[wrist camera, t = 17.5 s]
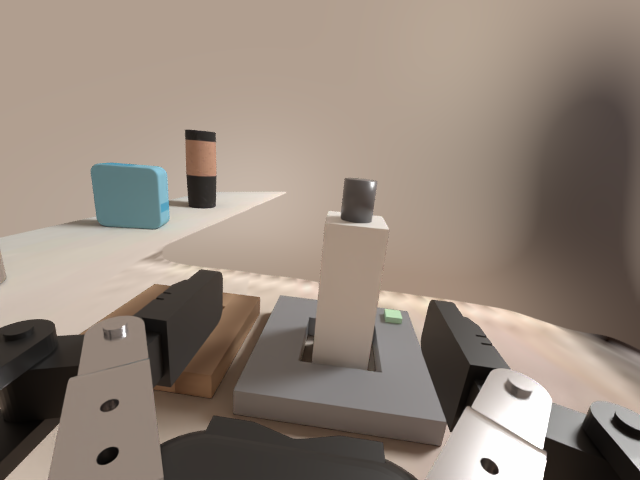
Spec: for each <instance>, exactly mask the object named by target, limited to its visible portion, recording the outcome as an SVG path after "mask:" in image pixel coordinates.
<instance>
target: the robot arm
mask: <svg viewBox="0 0 640 480" xmlns="http://www.w3.org/2000/svg"><path fill="white" fill-rule="evenodd" d="M5 279H6V273H5V269H4V265H3V260H2V256H1V251H0V284H1V283H2V282H3V281H4V280H5ZM222 310H223V277H222V273H221V272H218V271H210V270H202V269H201V270H199V271H198V272H197V273H195V274H194V275H193V276H192V277H191V278H189V279H188V280H183V281H181V282H178V283H176V284H173V285H172V286H170V287H169V288H168V289H166V290H165V291H164V292H163V293H161V294H160V295H159V296H157V297H156V299H154V300H152V301H151V302H150V303H148V304H147V305H146V306H144V307H143V308H142V309H141V310H139V311H138V312H137V313H135V314H134V315H133V316H117V317H112V318H109V319H105V320H103V321H100V322H98V323H96V324H94V325H93V326H91V327H90V328H89V329H88V330H87V331H86V333H85V334H83V335H67V336H57V334H56V329H55V324H54V323H53V322H51V321H49V320H44V319H34V320H26V321H21V322H17V323H13V324H10V325H7V326H4V327H2V328H0V480H4V479H5V478H6V477H7V476H8V475H9V474H10V473H11V472H12V471H13V470H14V469H15V468H16V467H17V466H18V465H19V464H20V463H21V462H22V461H23V460H24V459H25V458H26V457H27V456H28V455H29V454H30V453H31V451H32V450H33V449H34V448H35V447H36V446H37V445H38V444H39V443H40V442H41V441H42V440H43V439H44V438H45V437H46V436H47V435H48V434H49V433H50V432H51V431H52V430H53V429H54V428H55V427H56V426H57V425H58V424H59V428H58V433H57V438H56V443H55V448H54V452H53V457H52V462H51V467H50V472H49V477H48V480H418V479H417V478H415V477H414V476H413V475H412V474H410V473H409V472H407V471H406V470H405V469H403V468H402V467H400V466H398V465H396V464H394V463H393V462H391V461H389V460H386V459H385V455H384V447H383V442H377V441H371V440H365V439H358V438H352V437H346V436H330V437H319V438H307V439H293V438H290V437H288V436H285V435H283V434H281V433H278V432H276V431H274V430H272V429H269V428H267V427H265V426H262V425H260V424H258V423H255V422H251V421H245V420H239V419H232V418H226V417H220V416H213V418H212V420H211V421H210V423H209V425H208V427H207V429H206V430H204V431H197V432H192V433H188V434H184V435H181V436H178V437H176V438H173V439H171V440H168V441H166V442H164V443H162V444H160V443H159V434H158V426H157V418H156V410H155V402H154V394H153V388H154V387H155V386H156V385H158V386H164V387H172V385H173V384H174V383H175V381H176V380H177V379H178V377H179V376H180V375H181V373H182V372H183V371H184V369H185V368H186V367H187V365H188V364H189V363H190V361H191V360H192V358H193V357H194V356H195V354H196V353H197V352H198V350H199V349H200V348H201V346H202V345H203V344H204V342H205V341H206V340H207V338H208V337H209V336H210V334H211V333H212V332H213V330H214V329H215V327H216V326H217V325H218V323H219V321H220V319H221V315H222ZM421 351H422V355H423V357H424V360H425V363H426V366H427V369H428V371H429V374H430V377H431V380H432V383H433V385H434V388H435V391H436V394H437V397H438V399H439V402H440V405H441V408H442V411H443V413H444V416H445V419H446V422H447V425H448V427H449V430H450V432H452V433H451V435H450V436H449V438H448V440H447V442H446V443H445V445H444V447H443V449H442V450H441V452H440V454H439V456H438V457H437V459H436V461H435V463H434V464H433V466H432V468H431V470H430V471H429V473H428V475H427V477H426V479H425V480H640V415H639V414H637V413H635V412H633V411H631V410H629V409H627V408H625V407H622V406H620V405H617V404H614V403H610V402H604V401H596V402H594V403H592V404H591V406H590V408H589V410H588V412H587V414H583V413H580V412H577V411H575V410H572V409H569V408H566V407H563V406H560V405H557V404H555V403H552V400H551V397H550V395H549V394H548V392H547V391H546V390H545V389H544V388H543V387H542V386H541V385H540V384H539V383H537V382H536V381H534V380H533V379H531V378H530V377H528V376H526V375H524V374H522V373H519V372H517V371H514V370H511V369H510V368H509V366H508V365H507V364H506V362H505V361H504V359H503V358H502V357H501V355H500V354H499V353H498V351H497V350H496V349H495V347H494V346H492V343H491V342H490V340H489V339H488V338H486V335H485V334H484V332H483V331H482V329H481V328H480V327H479V326H478V325H477V324H475V323H474V322H473V321H471V320H470V319H469V318H466V317H463V316H462V314H461V313H460V311H459V310H458V308H457V307H456V305H455V304H454V303H453V302H445V301H438V300H431V301H430V303H429V306H428V310H427V315H426V319H425V323H424V328H423V332H422V336H421Z"/></svg>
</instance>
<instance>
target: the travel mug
mask: <svg viewBox="0 0 640 480" xmlns="http://www.w3.org/2000/svg"><path fill="white" fill-rule="evenodd" d="M215 134H216V133H215V132H206V131H197V130H185V137H186V138H185V139H186V174H187V188H188V202H189V206H190V207H194V208H212V207H215V206H216V137H215Z"/></svg>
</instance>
